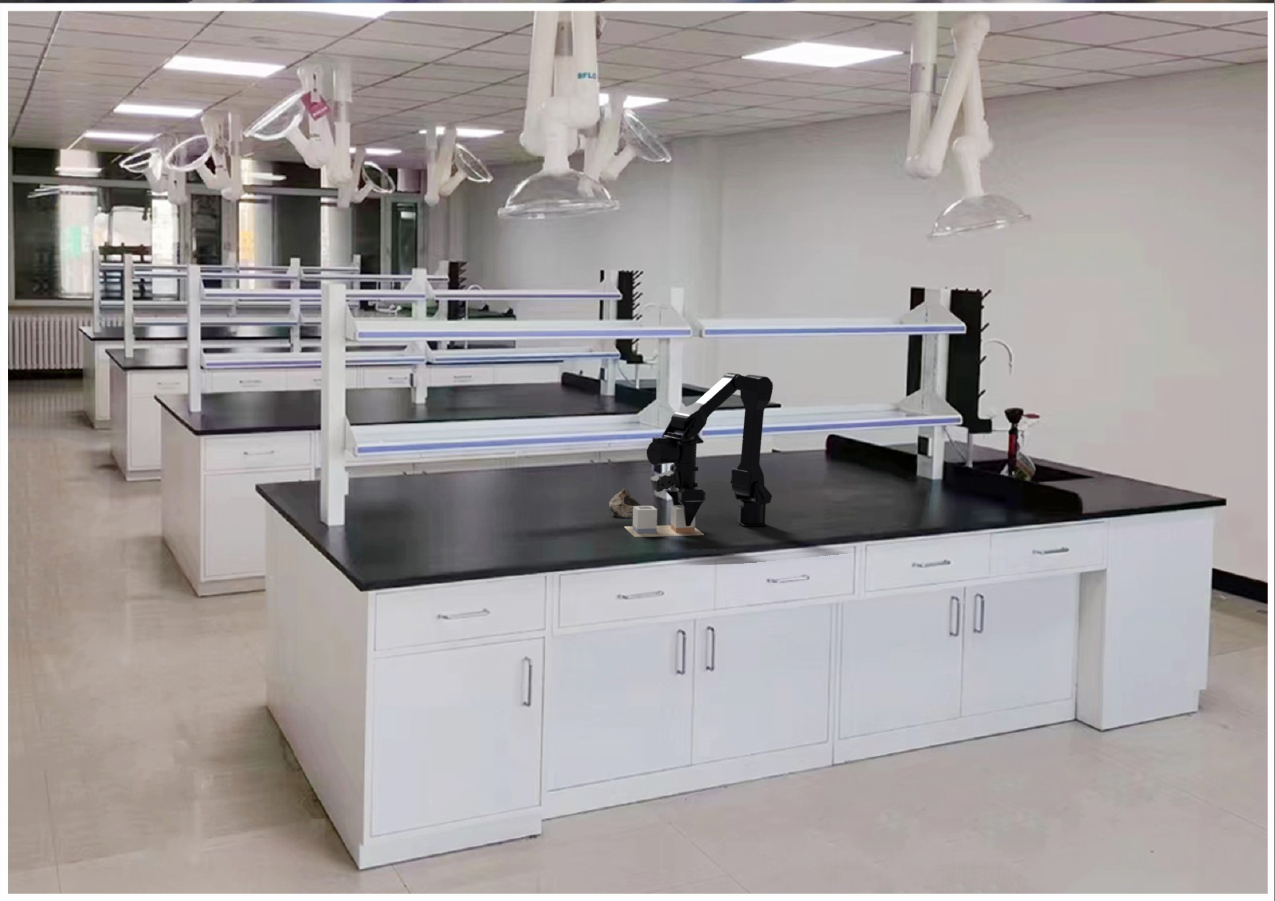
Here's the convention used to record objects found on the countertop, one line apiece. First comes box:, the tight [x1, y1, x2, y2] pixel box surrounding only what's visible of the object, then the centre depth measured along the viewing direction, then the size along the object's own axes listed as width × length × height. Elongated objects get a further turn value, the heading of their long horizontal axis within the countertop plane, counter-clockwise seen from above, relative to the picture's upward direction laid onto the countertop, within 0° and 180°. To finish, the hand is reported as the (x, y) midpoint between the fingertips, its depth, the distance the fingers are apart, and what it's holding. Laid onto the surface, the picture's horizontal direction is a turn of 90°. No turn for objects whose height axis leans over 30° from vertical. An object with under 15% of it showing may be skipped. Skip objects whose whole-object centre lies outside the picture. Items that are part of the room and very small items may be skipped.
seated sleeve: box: [632, 505, 658, 534], centre depth 321 cm, size 5×5×6 cm
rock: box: [608, 488, 642, 519], centre depth 342 cm, size 9×7×10 cm
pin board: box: [624, 524, 705, 538], centre depth 323 cm, size 18×12×4 cm, turn 104°
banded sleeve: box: [670, 504, 696, 533], centre depth 324 cm, size 5×5×6 cm
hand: (682, 522), depth 324 cm, fingers open, 9 cm apart
